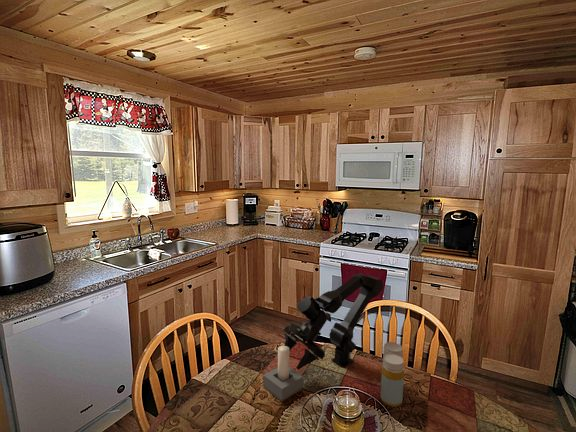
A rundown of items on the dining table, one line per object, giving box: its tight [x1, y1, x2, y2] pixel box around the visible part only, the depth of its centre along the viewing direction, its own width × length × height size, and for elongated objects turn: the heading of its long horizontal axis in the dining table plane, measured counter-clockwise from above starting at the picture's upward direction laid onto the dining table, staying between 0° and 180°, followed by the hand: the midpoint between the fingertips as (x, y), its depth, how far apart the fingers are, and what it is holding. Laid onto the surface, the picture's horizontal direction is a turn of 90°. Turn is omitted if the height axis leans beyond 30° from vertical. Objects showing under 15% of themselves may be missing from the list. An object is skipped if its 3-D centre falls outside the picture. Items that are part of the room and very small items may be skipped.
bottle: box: [380, 354, 405, 408], centre depth 106 cm, size 7×7×15 cm
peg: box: [277, 345, 290, 382], centre depth 112 cm, size 4×4×14 cm
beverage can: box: [381, 341, 404, 370], centre depth 114 cm, size 6×6×15 cm
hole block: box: [262, 366, 304, 402], centre depth 112 cm, size 10×10×5 cm
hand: (289, 362), depth 113 cm, fingers open, 9 cm apart
